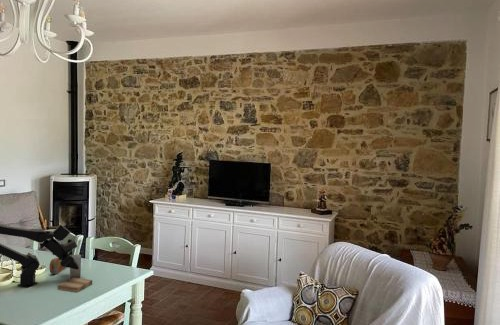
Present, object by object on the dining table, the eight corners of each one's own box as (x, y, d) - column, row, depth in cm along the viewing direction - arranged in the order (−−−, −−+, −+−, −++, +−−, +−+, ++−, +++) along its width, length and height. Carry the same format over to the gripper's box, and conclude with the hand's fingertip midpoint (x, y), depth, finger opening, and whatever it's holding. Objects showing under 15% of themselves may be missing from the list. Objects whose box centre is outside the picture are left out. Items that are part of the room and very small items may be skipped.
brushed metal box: (80, 280, 204) (81, 256, 203) (69, 281, 202) (70, 257, 201) (79, 276, 208) (80, 254, 208) (68, 278, 206) (69, 255, 205)
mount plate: (77, 292, 188) (77, 288, 188) (57, 289, 190) (57, 285, 190) (92, 283, 199) (92, 280, 199) (73, 281, 202) (73, 277, 202)
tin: (53, 276, 208) (54, 260, 207) (48, 275, 208) (48, 260, 207) (67, 267, 223) (67, 252, 222) (62, 266, 223) (62, 252, 222)
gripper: (68, 240, 194) (91, 259, 199) (66, 231, 210) (88, 250, 216) (50, 257, 190) (74, 276, 196) (50, 247, 207) (72, 265, 213)
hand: (77, 266), depth 205 cm, fingers open, 9 cm apart
